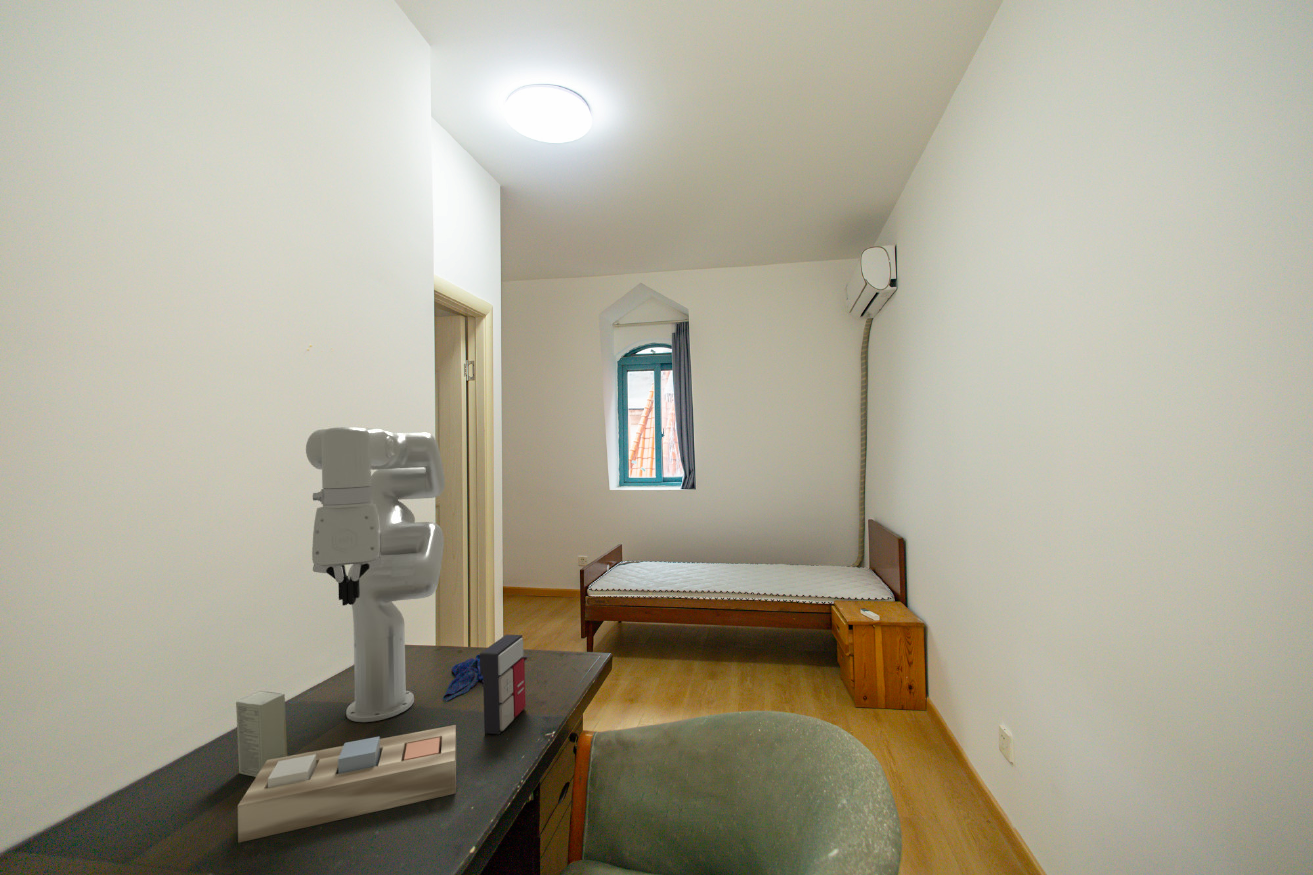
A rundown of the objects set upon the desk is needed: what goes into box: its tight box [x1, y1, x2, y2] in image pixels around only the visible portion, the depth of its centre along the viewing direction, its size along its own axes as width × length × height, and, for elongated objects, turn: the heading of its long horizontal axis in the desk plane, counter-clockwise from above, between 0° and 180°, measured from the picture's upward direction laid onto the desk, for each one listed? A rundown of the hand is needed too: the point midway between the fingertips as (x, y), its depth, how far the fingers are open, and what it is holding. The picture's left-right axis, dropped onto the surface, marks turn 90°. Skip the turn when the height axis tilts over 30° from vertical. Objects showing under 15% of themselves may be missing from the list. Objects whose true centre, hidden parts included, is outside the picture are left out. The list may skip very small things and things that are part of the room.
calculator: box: [479, 634, 526, 735], centre depth 107 cm, size 11×4×15 cm, turn 168°
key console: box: [237, 724, 457, 844], centre depth 85 cm, size 12×28×5 cm, turn 110°
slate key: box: [338, 736, 381, 774], centre depth 85 cm, size 5×5×3 cm
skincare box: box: [235, 690, 288, 778], centre depth 93 cm, size 6×4×12 cm
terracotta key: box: [404, 737, 440, 761], centre depth 88 cm, size 5×5×3 cm
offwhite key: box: [268, 754, 316, 788], centre depth 82 cm, size 5×5×3 cm
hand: (349, 602), depth 95 cm, fingers closed
